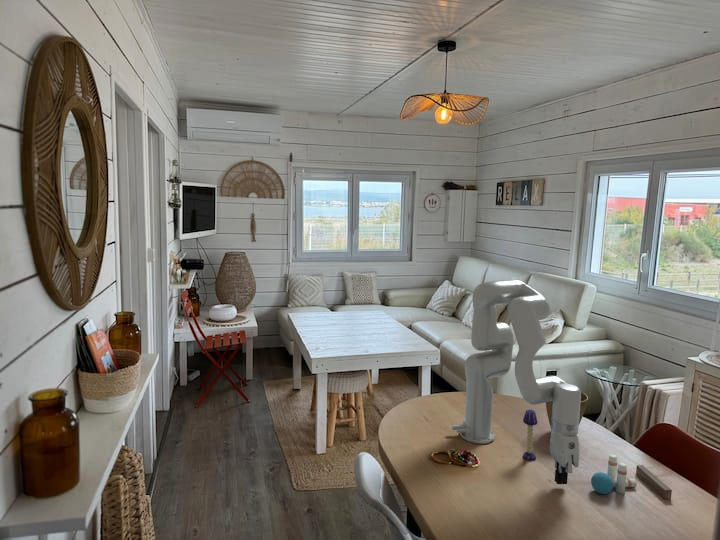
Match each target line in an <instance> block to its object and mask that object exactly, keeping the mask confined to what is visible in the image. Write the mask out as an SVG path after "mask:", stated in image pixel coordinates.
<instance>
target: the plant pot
mask: <svg viewBox="0 0 720 540" xmlns="http://www.w3.org/2000/svg"><path fill="white" fill-rule="evenodd" d="M588 400H589V397H588V395H587V394H586V393H584V392H583V391H581V402H580V415H579V425H580V424H581V422H582V419H583V416H584V413H585V411H586V406H587V404H588ZM545 408H546V409H545V410H546V414H547V420H548V423H549V426H550V427H549V428H550V430H551V432H552V429H551V424H552V410H553V401H549V402H545Z"/></svg>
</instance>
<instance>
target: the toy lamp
mask: <svg viewBox="0 0 720 540" xmlns="http://www.w3.org/2000/svg"><path fill="white" fill-rule="evenodd" d="M522 421H523V424H525V425H527V428H526V429H527V433H526V434H527V437H526V439H527V440H526V443H527V444H526V451H525V452H523V455H522V458H523V459H524V460H526V461H528V462H529V461H530V462H532V461H533V462H534V461H536V459H537V457H536V454H535V452H533V439H534V436H533V435H534V432H533V431H534V428H533V427H534V426H536V425H537V424H538V419H537V414H536V411H535V410H534V409H526V410H525V413H524V416H523V418H522Z"/></svg>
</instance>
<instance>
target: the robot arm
mask: <svg viewBox="0 0 720 540" xmlns="http://www.w3.org/2000/svg"><path fill="white" fill-rule="evenodd" d="M503 305H504V306H506V305H507V307H506V308H507V313H508V317H509V320H510V322H511V325H512V326H511V327H512V328H511V327H510V325H508V324H507V323H506V322H502V321H499V322H498V317H499V316H498V311H497V308H496V306H503ZM472 309H473V310H472V311H473V314H472V325H471V334H470V336H471V337H470V339H471V341H470V342H471V346H472V347H473V349H474V350H476V351H480V352H476V353H473V354H470V355H469V356H467V357H466V359H465V361H464V373H465V381H466V383H465V384H466V386H465V412H464V413H465V414H464V421H462V423H460V424H452V425H451V430H452V431H456V433H459V434H460V435H459V436H460V437H461V438H462V439H463V440H465V441H467V442H470V443H473V444H477V445H478V444H481V445H482V444H483V445H485V444H490V443H492V442H494V441H495V438H496V433H495V432H494V431H492V416H493V397H494V393H493V392H494V390H493V387H492V384H491V383H490V381H489V379H492V378H498V377H504V376H506V375H507V374H508V373H509V371H510V370H511V366H512V359H513V349H514V336H515V339H516V342H517V345H518V351H517V353H516V356H515V363H514V376H515V380H516V384H517V387H518V390H519V392H520V394H521V397H522V398H523V400H524V401H525V402H527V403H528V404H530V405H540V404H546V402H549V401H553V410H552V424H551V427H550V430H551V429H552V431H551V433H550V439H549V452H550V454H551V456H552V457H553V458H554V468H555V469H554V482H555V483H556V484H557V485H567V484H568V478H569V477H568V476H569V474H573V466H574V468H578V467H579V461H580V459H579V458H580V443H579V442H580V441H579V435H578V434H579V427H580V424H579V415H580V402H581V392H582V391H581V389H580V388H579V387H578V386H577V385H574V384H573V383H572V384H571V383H567V382H566V381H564V380H563V379H561V378H560V377H558V376H556V375H547V376H542V377H536V376H535V374H534V369H533V368H534V366H533V361H534V359H535V357H536V354H538V352H539V350H541V349H542V348H543V347H544V346H545V344H546V337H545V334H544V331H543V329H542V326H541V322H540V321H543V320H545V319H547V318H548V316H549V315H550V312H551V311H550V310H551V309H550V304H549V302H548V300H547V298H546V297H544V296H543V294H541V293H539V292H538V291H536V290H535V289H534V288H532V287H531V286H530V285H527V284H526V283H525V282H523V281H522V280H518V279H506V280H491V281H485V282H481V283H480V284H478V285H476V287H475V288H474V290H473V292H472ZM513 332H514V334H513ZM483 351H484V352H483Z"/></svg>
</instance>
